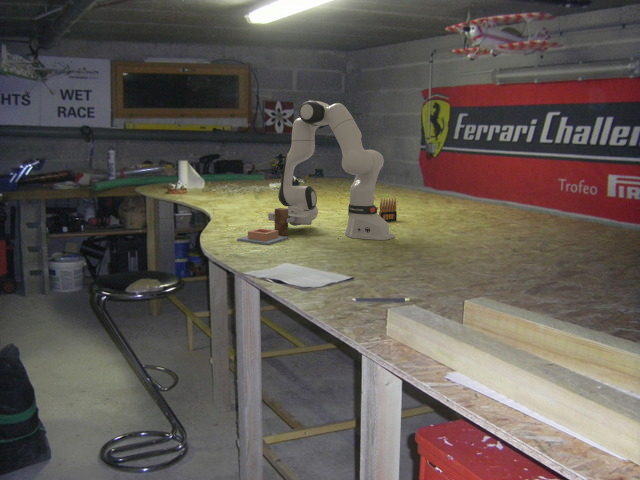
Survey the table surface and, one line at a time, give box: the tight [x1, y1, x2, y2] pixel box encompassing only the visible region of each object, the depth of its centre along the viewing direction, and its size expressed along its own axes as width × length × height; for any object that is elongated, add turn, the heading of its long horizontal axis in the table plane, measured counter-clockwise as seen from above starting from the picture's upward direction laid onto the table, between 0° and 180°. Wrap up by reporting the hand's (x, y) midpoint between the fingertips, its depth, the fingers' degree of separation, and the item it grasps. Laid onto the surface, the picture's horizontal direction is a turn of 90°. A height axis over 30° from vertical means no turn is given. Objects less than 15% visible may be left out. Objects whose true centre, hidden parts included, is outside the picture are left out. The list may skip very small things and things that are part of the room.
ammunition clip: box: [378, 198, 398, 223], centre depth 330 cm, size 11×2×12 cm, turn 120°
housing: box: [236, 227, 289, 246], centre depth 272 cm, size 16×16×4 cm
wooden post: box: [274, 207, 289, 237], centre depth 285 cm, size 4×4×12 cm
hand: (280, 219), depth 284 cm, fingers closed on wooden post, 4 cm apart
